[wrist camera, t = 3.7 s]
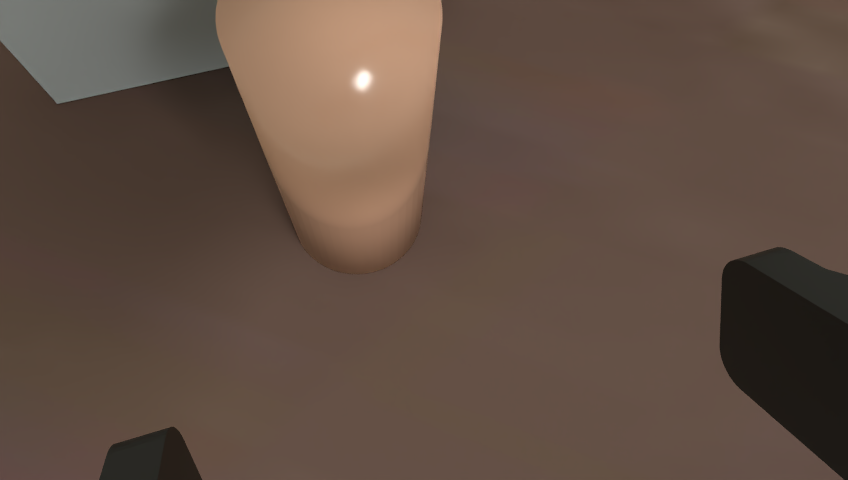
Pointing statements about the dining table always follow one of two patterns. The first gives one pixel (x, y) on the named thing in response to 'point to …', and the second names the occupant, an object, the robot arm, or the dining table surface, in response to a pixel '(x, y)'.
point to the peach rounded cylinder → (340, 116)
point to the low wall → (110, 42)
